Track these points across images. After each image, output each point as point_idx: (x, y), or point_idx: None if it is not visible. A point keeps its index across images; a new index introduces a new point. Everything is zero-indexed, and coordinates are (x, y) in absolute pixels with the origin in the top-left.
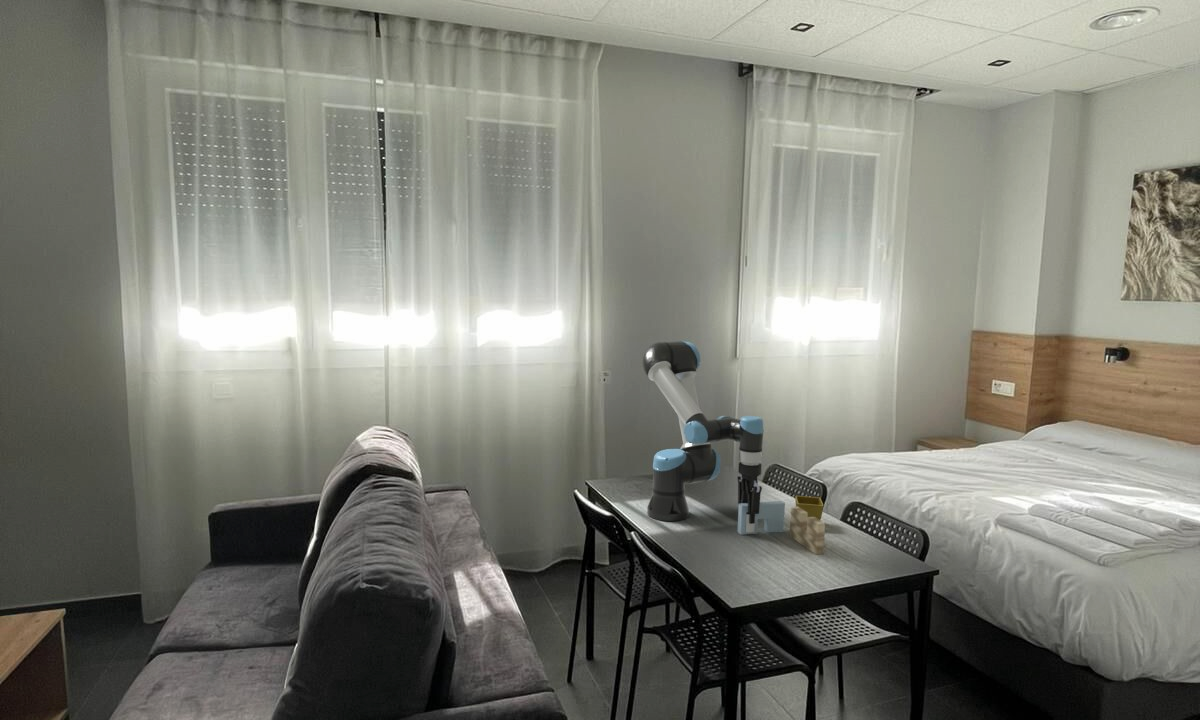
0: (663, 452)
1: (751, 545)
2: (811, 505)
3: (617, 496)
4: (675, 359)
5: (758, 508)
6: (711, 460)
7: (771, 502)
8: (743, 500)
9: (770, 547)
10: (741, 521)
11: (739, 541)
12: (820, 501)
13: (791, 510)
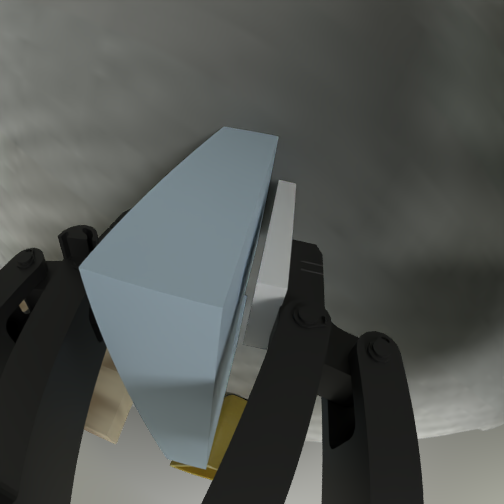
0: None
1: (69, 105)
2: (182, 463)
3: None
4: None
5: (11, 333)
6: None
7: (186, 453)
8: (243, 416)
9: (48, 182)
10: (187, 159)
11: (126, 59)
12: (212, 477)
13: (108, 421)
